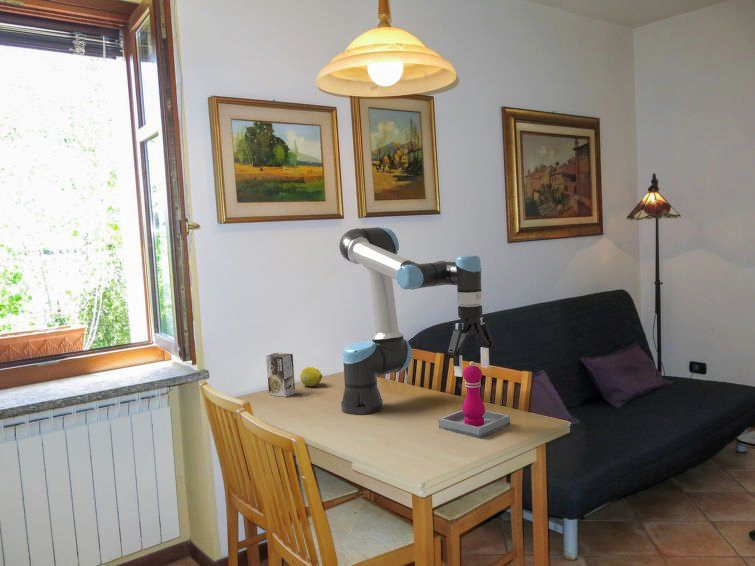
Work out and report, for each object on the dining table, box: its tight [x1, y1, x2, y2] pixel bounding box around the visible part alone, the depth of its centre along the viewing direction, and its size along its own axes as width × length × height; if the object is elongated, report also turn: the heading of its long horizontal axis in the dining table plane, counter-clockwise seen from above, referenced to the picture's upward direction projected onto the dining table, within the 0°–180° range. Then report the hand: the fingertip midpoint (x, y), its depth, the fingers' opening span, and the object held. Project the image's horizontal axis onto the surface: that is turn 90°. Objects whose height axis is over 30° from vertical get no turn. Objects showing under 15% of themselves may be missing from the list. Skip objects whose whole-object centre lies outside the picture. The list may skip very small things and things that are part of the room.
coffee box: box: [265, 352, 296, 398], centre depth 248 cm, size 9×6×16 cm
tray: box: [438, 409, 511, 439], centre depth 197 cm, size 16×16×3 cm
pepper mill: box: [461, 361, 486, 426], centre depth 196 cm, size 7×7×20 cm
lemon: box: [299, 366, 323, 387], centre depth 259 cm, size 11×8×8 cm
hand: (472, 371), depth 196 cm, fingers open, 13 cm apart
